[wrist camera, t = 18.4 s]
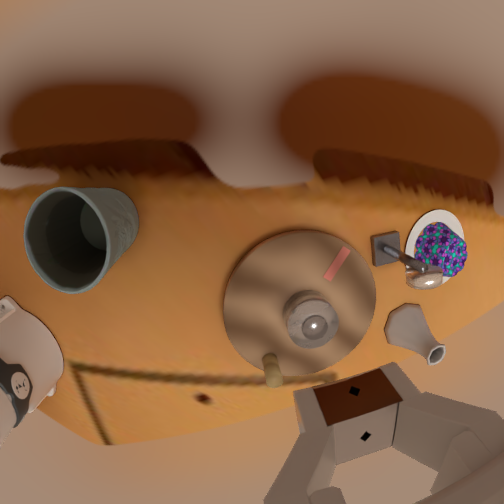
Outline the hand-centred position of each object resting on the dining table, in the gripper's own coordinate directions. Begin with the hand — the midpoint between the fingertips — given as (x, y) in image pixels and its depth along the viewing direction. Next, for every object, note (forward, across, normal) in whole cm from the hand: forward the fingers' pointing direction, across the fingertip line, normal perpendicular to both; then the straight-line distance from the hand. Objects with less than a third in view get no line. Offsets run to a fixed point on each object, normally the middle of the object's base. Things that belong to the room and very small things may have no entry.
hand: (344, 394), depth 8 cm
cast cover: (+28, -4, +12) cm, 31 cm away
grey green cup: (+31, +18, -4) cm, 36 cm away
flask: (+31, -20, +20) cm, 42 cm away
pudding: (+32, -26, +9) cm, 42 cm away
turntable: (+31, -4, +12) cm, 34 cm away
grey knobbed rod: (+31, -17, +7) cm, 36 cm away
